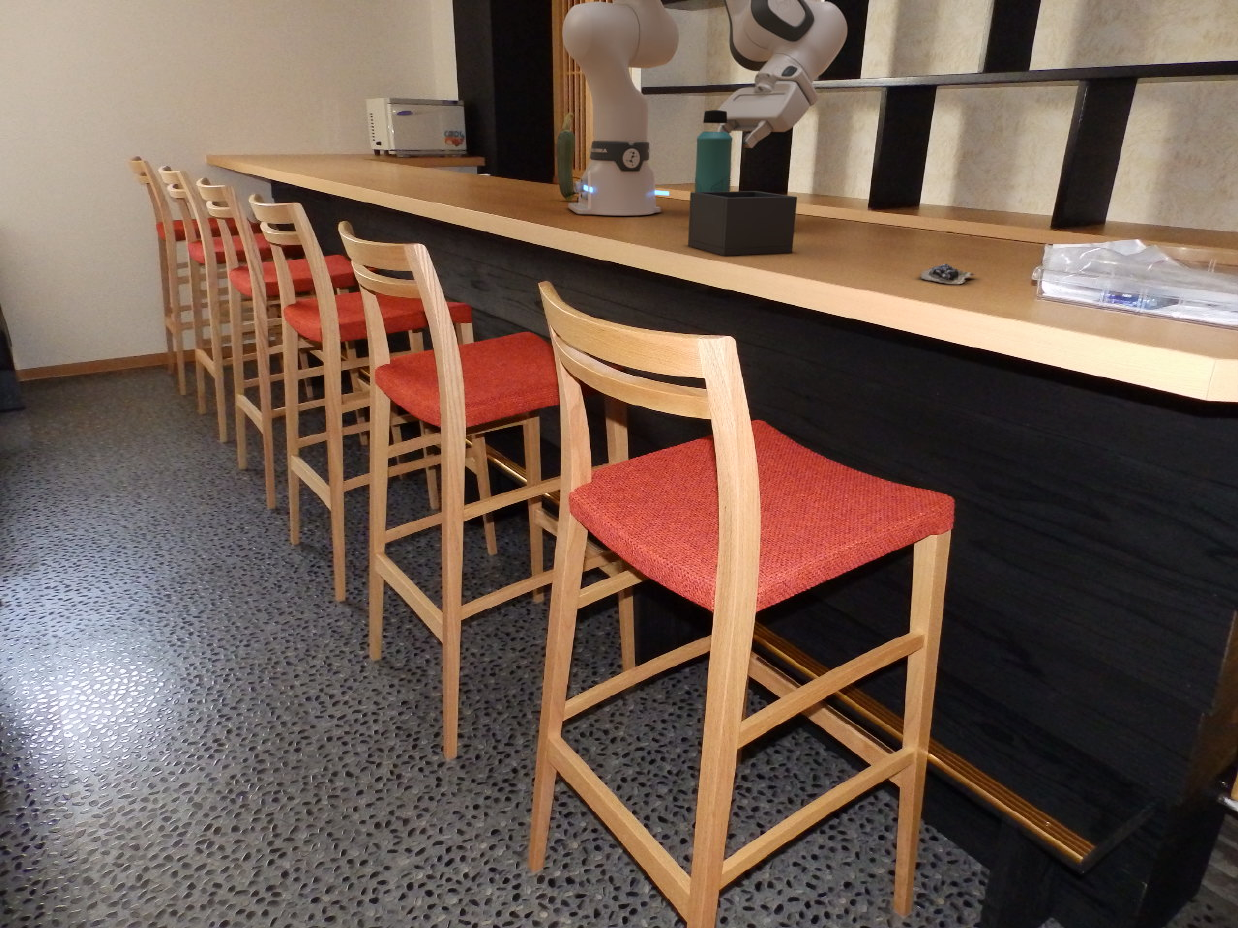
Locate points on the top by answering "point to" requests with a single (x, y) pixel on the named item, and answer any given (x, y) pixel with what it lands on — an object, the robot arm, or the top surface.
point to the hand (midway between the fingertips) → (730, 144)
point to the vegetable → (566, 158)
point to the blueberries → (945, 274)
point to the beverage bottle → (713, 156)
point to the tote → (741, 222)
